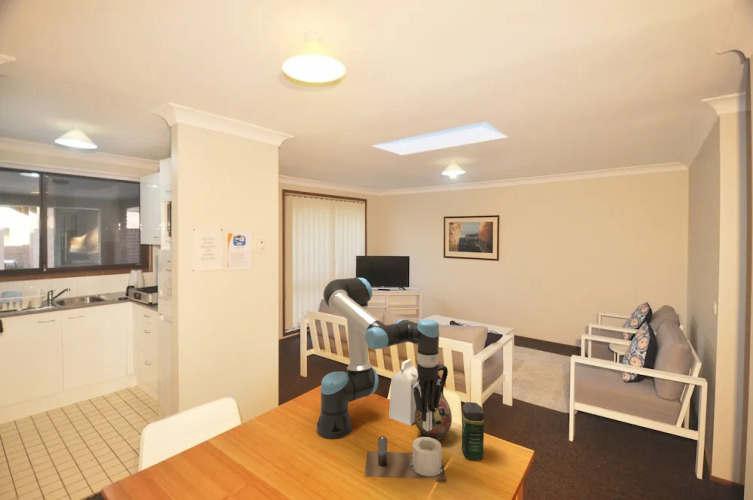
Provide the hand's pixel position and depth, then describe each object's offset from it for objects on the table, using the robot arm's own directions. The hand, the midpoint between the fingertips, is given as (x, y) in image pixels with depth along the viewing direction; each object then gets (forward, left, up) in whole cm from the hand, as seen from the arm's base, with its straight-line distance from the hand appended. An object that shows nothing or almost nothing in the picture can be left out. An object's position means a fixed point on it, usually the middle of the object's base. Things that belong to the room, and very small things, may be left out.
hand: (427, 428), depth 123 cm
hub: (0, 0, -14) cm, 14 cm away
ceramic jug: (-5, +21, -15) cm, 26 cm away
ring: (0, 0, -13) cm, 13 cm away
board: (-7, -4, -14) cm, 17 cm away
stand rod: (-14, -8, -14) cm, 22 cm away
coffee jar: (+12, +17, -15) cm, 26 cm away
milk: (-22, +29, -15) cm, 39 cm away
